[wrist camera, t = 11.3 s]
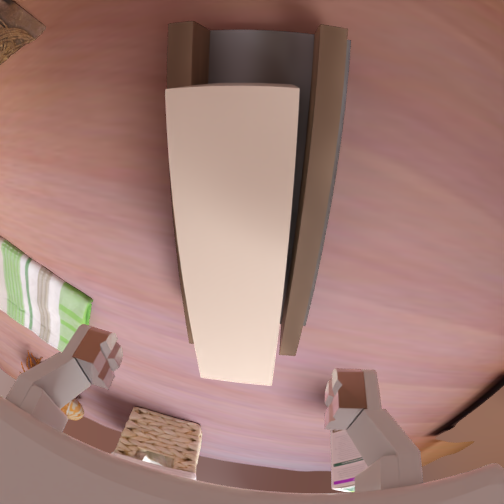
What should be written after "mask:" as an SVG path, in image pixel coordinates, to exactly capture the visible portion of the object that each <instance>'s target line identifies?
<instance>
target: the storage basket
mask: <svg viewBox="0 0 504 504" xmlns="http://www.w3.org/2000/svg"><path fill="white" fill-rule="evenodd" d="M201 437H202V432H201V426H200V425H198V424H196V423H193V422H189V421H185V420H182V419H177V418H173V417H171V416H167V415H163V414H160V413H157V412H153V411H149V410H148V409H144V408H139V407H134V408H133V409H132V412H131V414H130V416H129V420H128V421H127V422H126V425H125V428H124V430H123V431H122V434H121V437H120V439H119V442H118V444H117V447H116V449H115V451H114V452H112V453H111V454H112V455H114V456H117V457H119V458H122V459H125V460H128V461H130V462H133V463H136V464H139V465H142V466H145V467H149V468H152V469H155V470H158V471H162V472H165V473H169V474H173V475H177V476H180V477H185V478H189V479H193V480H196V465H197V464H198V457H199V453H200V447H201V443H202V438H201Z"/></svg>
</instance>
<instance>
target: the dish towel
mask: <svg viewBox="0 0 504 504" xmlns="http://www.w3.org/2000/svg"><path fill="white" fill-rule="evenodd" d="M91 302H93V299H91V298H90V297H88V296H87V295H85V294H84V293H83V292H81V291H79V290H78V289H76V288H74V287H73V286H71V285H70V284H68V283H66V282H65V281H63V280H62V279H60V278H59V277H57V276H56V275H55V274H53V273H52V272H51V271H49V270H48V269H47V268H45V267H44V266H42V265H40V264H39V263H37V262H36V261H34V260H32V259H31V258H29V257H28V256H27V255H26V254H24V253H23V252H22V251H20V250H19V249H18V248H16V247H15V246H14V245H12V244H11V243H10V242H8V241H7V240H5V239H4V238H2V237H0V310H2V311H4V312H5V313H7V314H8V315H9V316H10V317H11V318H13V319H14V320H15V321H17V322H18V323H20V324H21V325H23V326H24V327H26V328H28V329H30V330H31V331H33V332H34V333H35V334H37V335H38V336H39V337H40V338H41V339H42V340H44V341H45V342H46V343H48V344H49V345H51V346H53V347H55V348H56V349H58V350H59V351H61V352H63V350H64V349H65V347H66V346H67V344H68V343H69V341H70V339H71V338H72V336H73V335H74V333H75V332H76V330H77V329H78V327H79V326H80V325H82V324H85V325H89V319H90V313H91V305H92V304H91Z"/></svg>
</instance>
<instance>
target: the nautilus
mask: <svg viewBox="0 0 504 504" xmlns="http://www.w3.org/2000/svg"><path fill="white" fill-rule="evenodd" d="M28 355H29V352H28ZM31 355H32V353H31ZM32 357H33V355H32ZM29 358H30V356H29ZM33 358H34V357H33ZM35 358H36V357H35ZM35 358H34V359H35ZM42 358H43V357H42ZM40 360H41V358H40ZM40 360H39V362H38V361H36V359H35V361H36V363H37V362H38V364H39V363H40ZM31 363H32V361H31V358H30V365H32V364H33V363H32V364H31ZM38 364H37V365H38ZM21 365H22V362H21ZM33 365H34V364H33ZM33 365H32V366H33ZM32 366H31V368H32ZM34 366H36V365H34ZM27 367H28V357H27ZM22 368H23V366H22ZM28 369H30V368H29V367H28ZM23 371H24V368H23ZM24 372H25V371H24ZM20 373H21V372H20ZM21 374H22V373H21ZM61 411H62V412H63V413H64V414H65V415H66V416H67V418H68V419H72V420H79V419H80V418H82V417H83V415H84V410H83V407H82V405H81V404H80V403H79V402H78V401H77V399H76V398H74V399H73V400H71V401H70V402H69V403H68V404H66V405H65V406H64V407H62V408H61Z"/></svg>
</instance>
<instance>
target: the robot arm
mask: <svg viewBox="0 0 504 504" xmlns="http://www.w3.org/2000/svg"><path fill="white" fill-rule="evenodd" d="M117 339H118V338H117V336H116V334H115V333H112V332H109V331H105V330H102V329H98V328H95V327H92V326H89V325H85V324H82V325H80V326H79V327H78V329H77V330H76V332H75V333H74V335H73V336H72V338H71V339H70V341H69V343H68V344H67V346H66V347H65V349H64V350H63V352H62V353H61V352H59V353H57V354H55V355H53V356H52V357H50V358H48V359H46V360H45V361H43V362H41V363H39V364H38V365H36V366H34V367H32V368H31V369H29V370H27V371H25V372H24V373H22V374H20V375H19V376H18V378H17V379H16V381H15V383H14V385H13V386H12V388H11V390H10V391H9V393H8V395H7V397H6V398H4V397H2V396H1V395H0V504H504V469H503V468H502V467H501V466H500V465H498V464H495V463H494V464H489V465H486V466H484V467H480V468H478V469H475V470H471V471H468V472H465V473H461V474H458V475H454V476H451V477H447V478H443V479H439V480H434V481H430V482H425V483H423V475H422V465H421V455H420V450H419V449H418V448H417V447H416V446H415V444H414V443H413V442H412V441H411V439H410V438H409V437H408V436H407V435H406V433H405V432H404V431H403V430H402V428H401V427H400V426H399V425H398V424H397V422H396V421H395V420H394V419H393V418H392V416H391V415H390V414H389V413H388V411H387V410H386V409H382V406H381V399H380V392H379V385H378V378H377V372H376V371H375V370H361V369H340V368H335V369H334V370H333V372H332V379H330V380H328V383H327V385H326V390H325V404H326V406H327V407H328V409H327V410H326V412H325V429H333V430H346V432H347V433H348V435H349V437H350V438H351V440H352V442H353V443H354V445H355V446H356V448H357V450H358V451H359V453H360V455H361V456H362V458H363V460H364V461H365V463H366V464H367V466H368V467H367V468H366V469H364V470H363V471H361V472H360V473H358V474H357V475H356V476H355V492H350V493H322V494H318V493H316V494H314V493H311V494H310V493H284V492H270V491H260V490H251V489H243V488H236V487H229V486H223V485H218V484H212V483H207V482H202V481H198V480H193V479H189V478H185V477H180V476H177V475H173V474H169V473H165V472H162V471H158V470H155V469H152V468H149V467H145V466H142V465H139V464H136V463H133V462H130V461H128V460H125V459H122V458H119V457H117V456H114V455H112V454H109V453H107V452H104V451H102V450H99V449H97V448H94V447H92V446H90V445H88V444H86V443H83V442H81V441H79V440H77V439H75V438H72V437H70V436H69V435H67V434H65V433H63V430H64V427H65V425H66V423H67V421H68V418H67V416H66V415H65V414H64V413H63V412H62V411H61V408H62V407H64V406H65V405H66V404H68V403H69V402H70V401H71V400H73V399H74V398H75V397H77V396H78V395H79V394H80V393H82V392H83V391H84V390H86V389H87V388H88V387H89V386H91V384H93V385H96V386H99V387H102V388H105V389H108V390H109V387H110V385H111V383H112V381H113V379H114V377H115V376H114V371H115V370H116V369H118V368H119V367H120V364H121V362H122V357H123V351H122V348H121V346H120V345H119V344H118V343H117V342H116V341H117Z"/></svg>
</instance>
